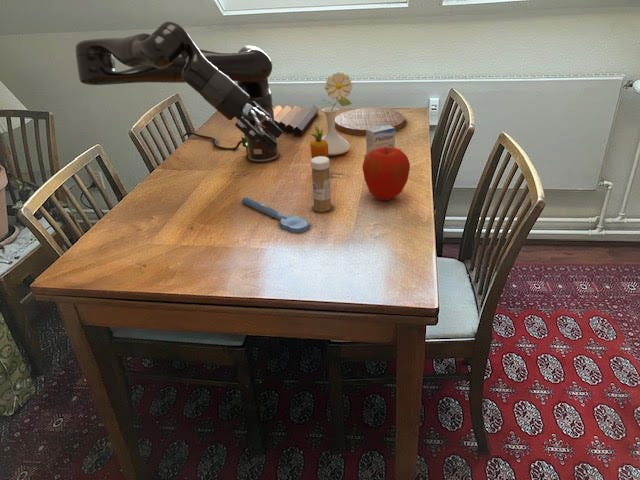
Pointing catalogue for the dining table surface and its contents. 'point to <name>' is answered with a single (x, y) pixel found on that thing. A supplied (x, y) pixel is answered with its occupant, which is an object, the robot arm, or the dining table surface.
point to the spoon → (280, 217)
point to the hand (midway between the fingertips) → (277, 141)
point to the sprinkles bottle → (321, 183)
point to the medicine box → (380, 137)
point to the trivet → (368, 120)
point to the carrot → (319, 145)
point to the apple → (386, 172)
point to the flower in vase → (338, 89)
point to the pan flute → (294, 118)
